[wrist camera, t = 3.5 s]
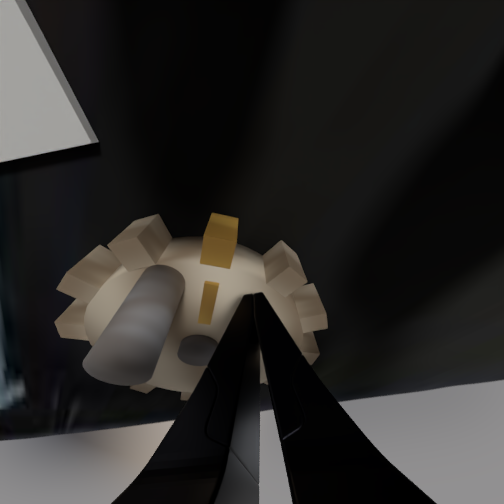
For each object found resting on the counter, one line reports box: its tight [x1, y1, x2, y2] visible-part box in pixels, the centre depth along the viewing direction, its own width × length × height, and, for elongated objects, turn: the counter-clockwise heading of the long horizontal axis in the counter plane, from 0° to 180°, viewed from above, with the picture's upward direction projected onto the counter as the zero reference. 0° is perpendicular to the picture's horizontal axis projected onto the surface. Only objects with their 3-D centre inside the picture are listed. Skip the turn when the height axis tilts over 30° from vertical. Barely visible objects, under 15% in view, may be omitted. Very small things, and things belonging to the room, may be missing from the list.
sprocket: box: [54, 213, 328, 400], centre depth 12 cm, size 16×16×7 cm
